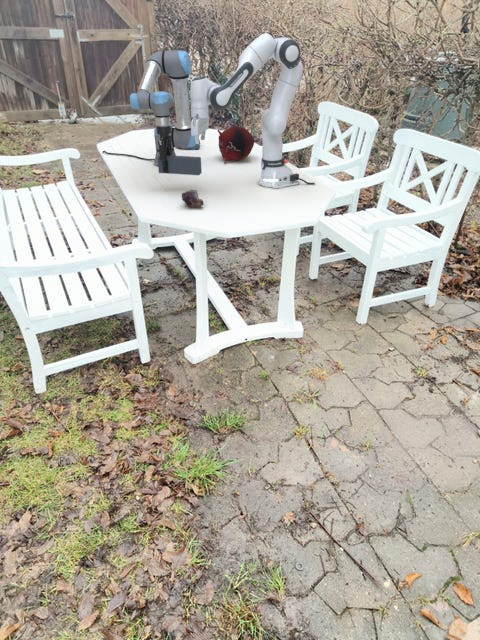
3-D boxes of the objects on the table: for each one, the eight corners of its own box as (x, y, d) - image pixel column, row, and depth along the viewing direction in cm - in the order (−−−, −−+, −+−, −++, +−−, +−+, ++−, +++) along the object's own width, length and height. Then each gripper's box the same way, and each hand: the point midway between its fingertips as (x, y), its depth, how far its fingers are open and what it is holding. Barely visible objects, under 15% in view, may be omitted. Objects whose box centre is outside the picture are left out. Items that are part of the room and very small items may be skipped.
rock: (197, 203, 236) (179, 206, 232) (195, 186, 232) (177, 189, 228) (206, 207, 226) (187, 210, 222) (204, 189, 223) (185, 192, 219)
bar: (158, 172, 244) (157, 157, 239) (162, 170, 248) (160, 154, 243) (199, 175, 240) (198, 159, 235) (201, 172, 244) (200, 157, 239)
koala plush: (200, 149, 323) (198, 120, 312) (175, 150, 322) (172, 121, 311) (200, 144, 337) (198, 115, 326) (176, 144, 336) (173, 116, 325)
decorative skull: (215, 132, 306) (215, 129, 282) (249, 124, 305) (251, 121, 281) (222, 164, 313) (222, 164, 289) (255, 157, 312) (258, 156, 288)
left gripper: (164, 129, 224) (168, 176, 237) (175, 122, 238) (179, 166, 251) (149, 128, 225) (155, 175, 238) (162, 121, 239) (166, 166, 253)
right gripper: (199, 117, 218) (200, 146, 226) (211, 110, 234) (211, 138, 242) (187, 116, 219) (188, 145, 227) (199, 109, 235) (200, 137, 243)
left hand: (167, 170), depth 245 cm, fingers closed on bar, 5 cm apart
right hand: (200, 141), depth 234 cm, fingers open, 8 cm apart
